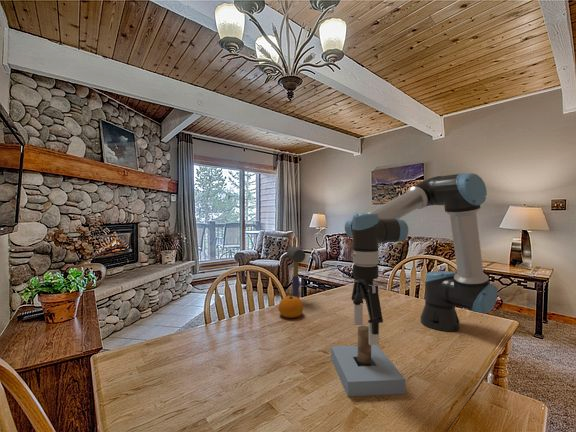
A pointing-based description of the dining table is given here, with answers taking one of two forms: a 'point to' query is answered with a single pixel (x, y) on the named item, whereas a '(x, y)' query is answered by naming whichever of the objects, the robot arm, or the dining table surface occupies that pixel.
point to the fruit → (290, 307)
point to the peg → (364, 347)
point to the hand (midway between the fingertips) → (365, 333)
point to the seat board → (367, 372)
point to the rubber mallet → (295, 267)
